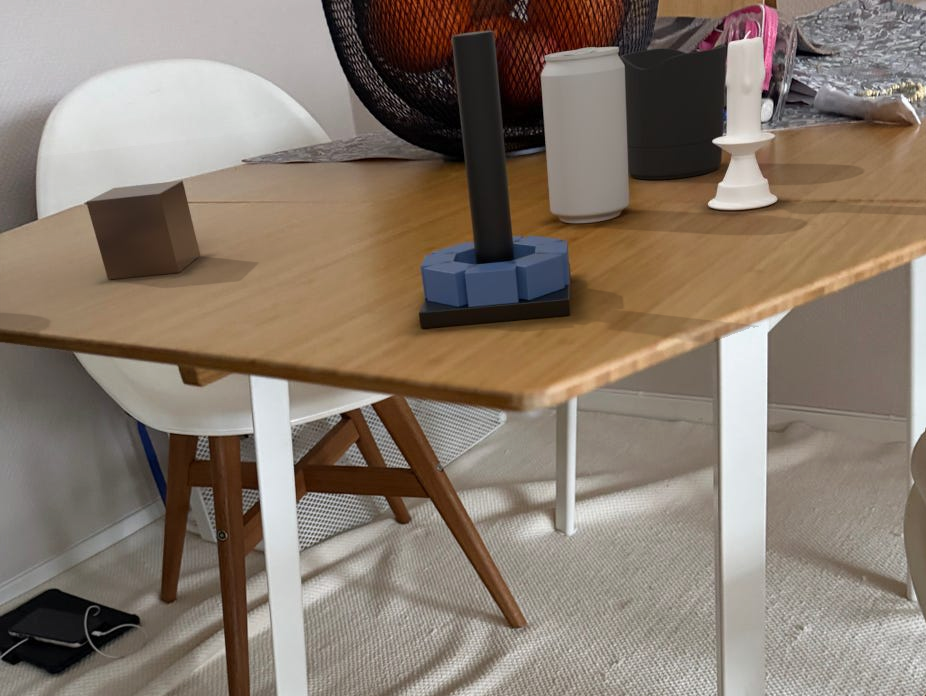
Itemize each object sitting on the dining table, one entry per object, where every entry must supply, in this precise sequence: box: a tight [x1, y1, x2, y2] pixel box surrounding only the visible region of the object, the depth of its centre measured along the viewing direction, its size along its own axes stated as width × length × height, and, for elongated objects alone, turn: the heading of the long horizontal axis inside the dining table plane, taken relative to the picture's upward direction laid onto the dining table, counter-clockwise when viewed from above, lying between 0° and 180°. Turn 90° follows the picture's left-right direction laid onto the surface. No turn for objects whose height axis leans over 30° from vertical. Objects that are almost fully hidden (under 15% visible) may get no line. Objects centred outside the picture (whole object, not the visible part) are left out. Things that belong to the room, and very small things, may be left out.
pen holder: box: [618, 43, 728, 180], centre depth 99 cm, size 9×9×10 cm
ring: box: [420, 235, 571, 307], centre depth 68 cm, size 9×9×2 cm
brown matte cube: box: [85, 180, 201, 281], centre depth 89 cm, size 6×6×6 cm
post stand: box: [418, 30, 572, 330], centre depth 65 cm, size 9×9×15 cm
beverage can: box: [540, 46, 630, 224], centre depth 86 cm, size 6×6×12 cm
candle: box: [707, 30, 778, 211], centre depth 83 cm, size 5×5×12 cm
